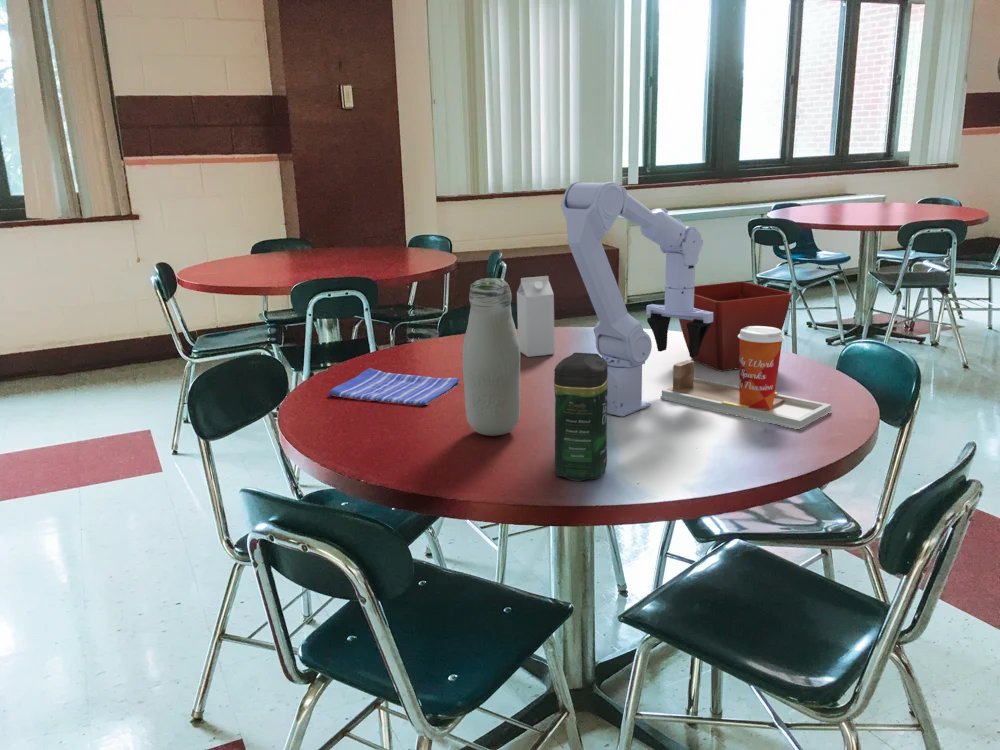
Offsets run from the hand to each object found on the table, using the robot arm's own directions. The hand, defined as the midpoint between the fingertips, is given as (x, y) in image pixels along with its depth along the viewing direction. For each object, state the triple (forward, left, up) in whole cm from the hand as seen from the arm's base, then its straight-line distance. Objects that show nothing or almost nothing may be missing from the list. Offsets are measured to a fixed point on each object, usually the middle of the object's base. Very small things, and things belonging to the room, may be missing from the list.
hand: (677, 353), depth 165 cm
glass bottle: (-42, +10, -8) cm, 44 cm away
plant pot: (+27, +4, -8) cm, 28 cm away
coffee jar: (-45, -13, -8) cm, 48 cm away
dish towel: (-37, +46, -9) cm, 60 cm away
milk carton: (+6, +45, -8) cm, 46 cm away
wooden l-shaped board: (0, -11, -8) cm, 13 cm away
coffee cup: (-1, -18, -8) cm, 20 cm away
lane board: (0, -15, -8) cm, 17 cm away
